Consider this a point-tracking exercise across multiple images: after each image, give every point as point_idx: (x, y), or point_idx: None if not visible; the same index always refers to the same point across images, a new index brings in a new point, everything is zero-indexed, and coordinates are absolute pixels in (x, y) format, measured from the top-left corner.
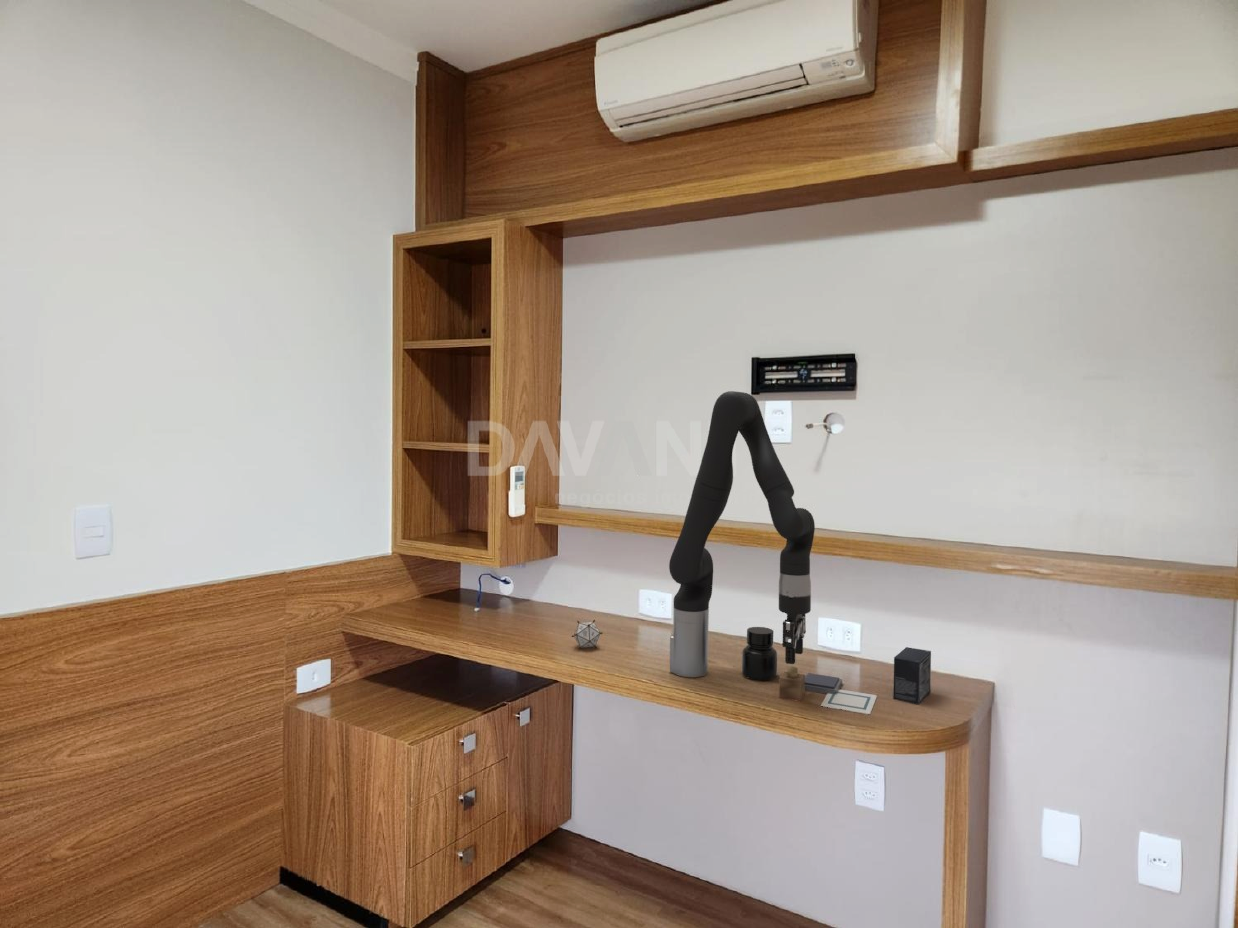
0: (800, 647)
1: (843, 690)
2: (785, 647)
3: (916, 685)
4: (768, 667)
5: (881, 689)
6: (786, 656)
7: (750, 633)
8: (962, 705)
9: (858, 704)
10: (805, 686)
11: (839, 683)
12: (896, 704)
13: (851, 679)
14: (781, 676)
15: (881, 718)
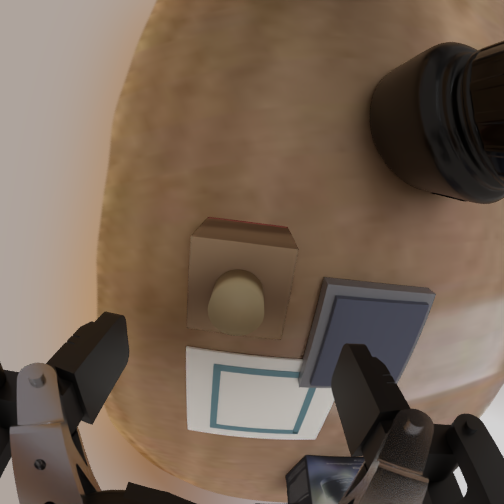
0: (341, 404)
1: None
2: (42, 367)
3: (289, 501)
4: (405, 160)
5: None
6: (70, 338)
7: None
8: None
9: (238, 417)
10: (321, 304)
11: None
12: (273, 458)
13: (420, 386)
14: (214, 242)
15: (179, 438)
